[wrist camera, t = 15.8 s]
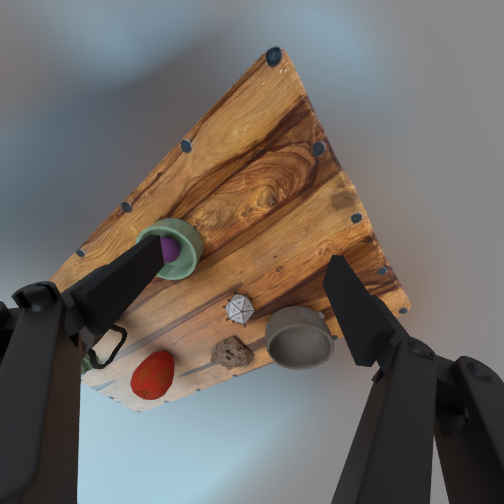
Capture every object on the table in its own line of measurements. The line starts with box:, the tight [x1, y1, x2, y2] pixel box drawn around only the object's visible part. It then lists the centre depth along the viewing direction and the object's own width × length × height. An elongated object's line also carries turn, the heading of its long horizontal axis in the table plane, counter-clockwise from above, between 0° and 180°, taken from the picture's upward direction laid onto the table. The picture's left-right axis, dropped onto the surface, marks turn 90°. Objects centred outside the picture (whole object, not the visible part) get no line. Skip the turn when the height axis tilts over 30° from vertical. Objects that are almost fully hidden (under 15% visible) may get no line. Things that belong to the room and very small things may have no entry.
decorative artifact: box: [81, 354, 98, 374], centre depth 68 cm, size 10×7×10 cm
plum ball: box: [160, 237, 181, 263], centre depth 42 cm, size 6×6×6 cm
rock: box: [211, 337, 254, 370], centre depth 63 cm, size 14×13×4 cm
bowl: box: [265, 306, 334, 370], centre depth 51 cm, size 17×18×10 cm
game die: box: [223, 292, 258, 328], centre depth 49 cm, size 9×8×10 cm
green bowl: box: [136, 218, 204, 280], centre depth 43 cm, size 13×13×6 cm
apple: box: [130, 351, 175, 400], centre depth 61 cm, size 12×12×14 cm
